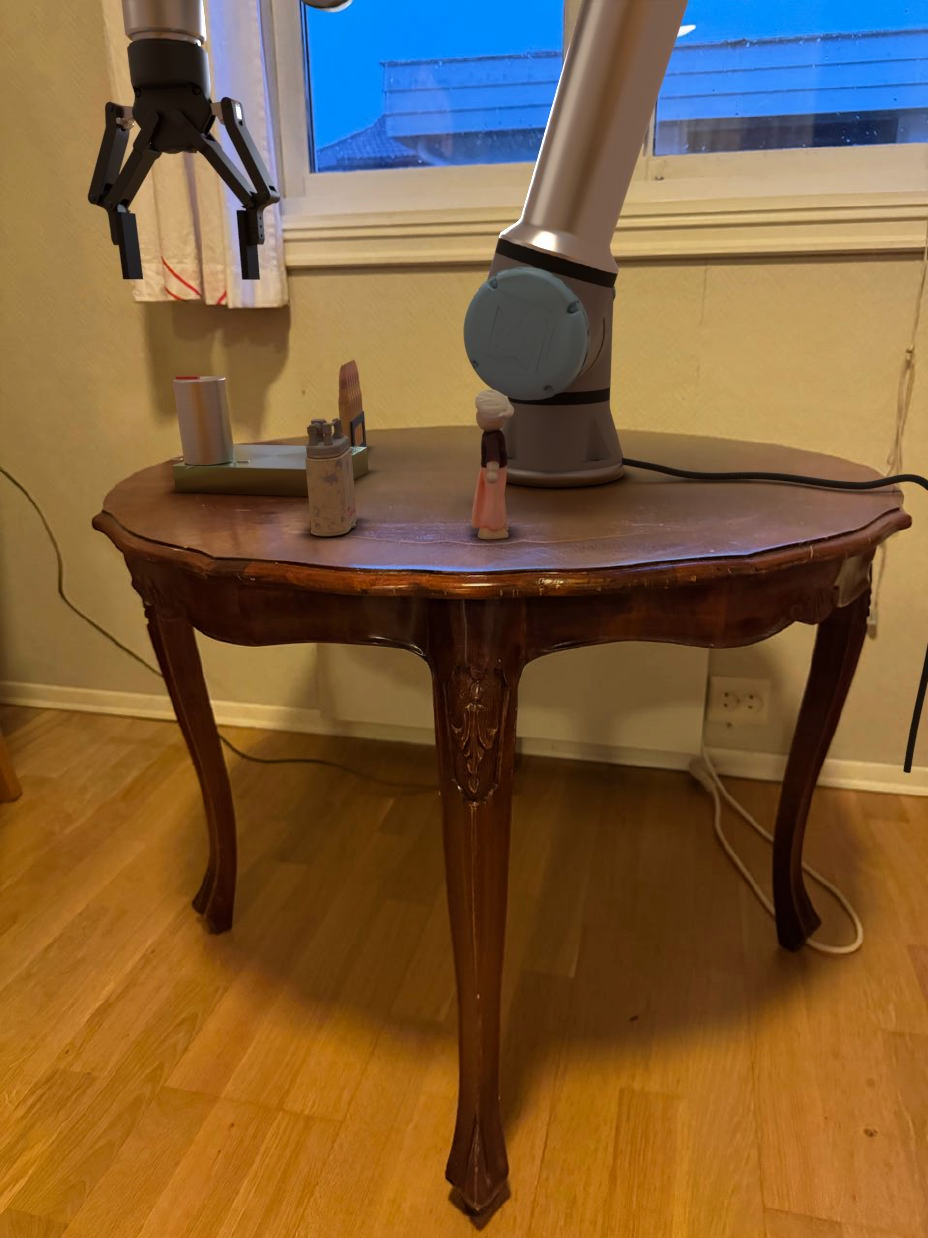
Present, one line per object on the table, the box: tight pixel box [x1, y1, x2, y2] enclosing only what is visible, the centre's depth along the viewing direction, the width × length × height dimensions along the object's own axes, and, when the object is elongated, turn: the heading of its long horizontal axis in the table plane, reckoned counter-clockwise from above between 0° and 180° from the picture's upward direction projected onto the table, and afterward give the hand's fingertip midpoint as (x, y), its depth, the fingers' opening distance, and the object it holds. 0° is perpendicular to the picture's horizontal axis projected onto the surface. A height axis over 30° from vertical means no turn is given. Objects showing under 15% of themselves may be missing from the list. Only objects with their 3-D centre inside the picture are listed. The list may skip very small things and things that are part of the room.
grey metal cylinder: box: [172, 375, 235, 465], centre depth 98 cm, size 6×6×9 cm
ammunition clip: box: [337, 359, 368, 448], centre depth 116 cm, size 11×2×12 cm, turn 178°
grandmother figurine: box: [470, 388, 514, 540], centre depth 76 cm, size 8×4×13 cm, turn 5°
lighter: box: [305, 417, 358, 537], centre depth 80 cm, size 7×4×10 cm, turn 176°
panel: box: [169, 443, 370, 498], centre depth 102 cm, size 20×16×3 cm
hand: (191, 279), depth 93 cm, fingers open, 13 cm apart
